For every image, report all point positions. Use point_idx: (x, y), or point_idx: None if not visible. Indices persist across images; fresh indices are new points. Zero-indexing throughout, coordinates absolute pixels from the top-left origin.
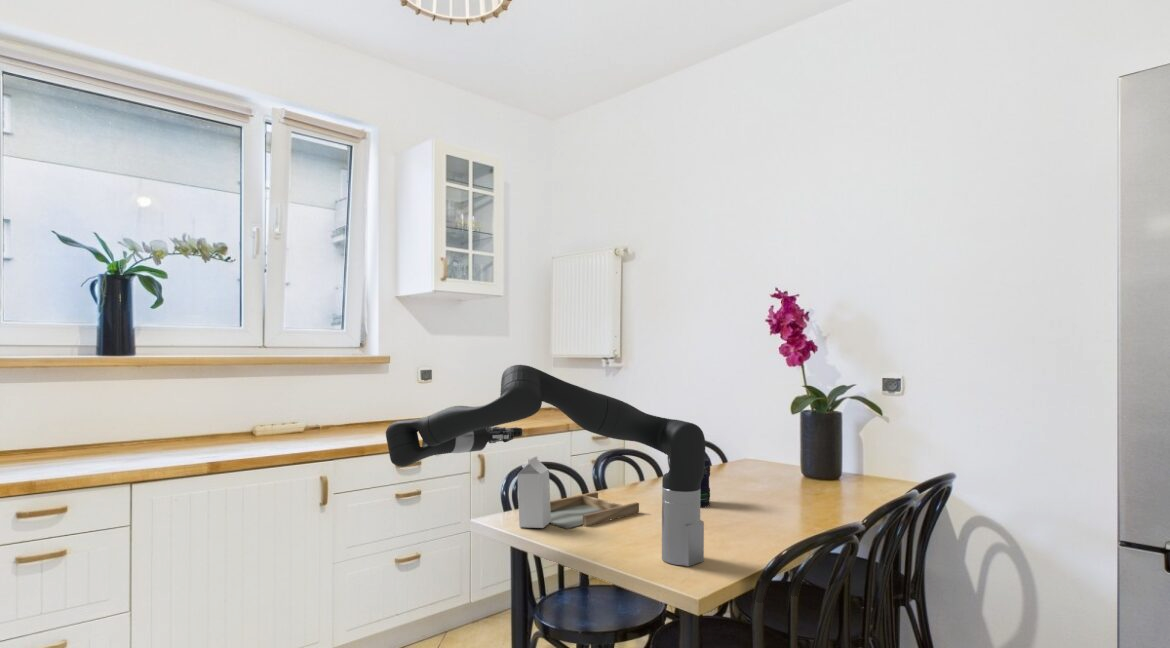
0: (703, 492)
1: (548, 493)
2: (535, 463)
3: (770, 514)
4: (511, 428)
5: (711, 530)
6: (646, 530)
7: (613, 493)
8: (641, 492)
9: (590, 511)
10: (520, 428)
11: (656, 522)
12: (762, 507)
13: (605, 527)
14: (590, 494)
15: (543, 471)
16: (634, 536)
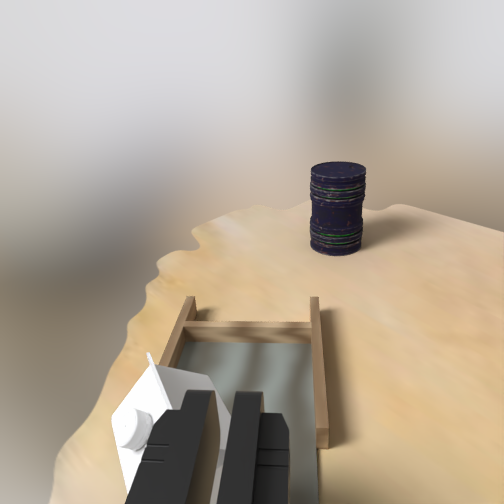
0: (361, 224)
1: None
2: (180, 402)
3: (448, 226)
4: (191, 476)
5: (498, 307)
6: (441, 376)
7: (184, 271)
8: (220, 248)
9: (243, 365)
10: (261, 404)
11: (396, 331)
12: (410, 216)
13: (367, 420)
14: (189, 310)
15: (225, 413)
16: (476, 424)
